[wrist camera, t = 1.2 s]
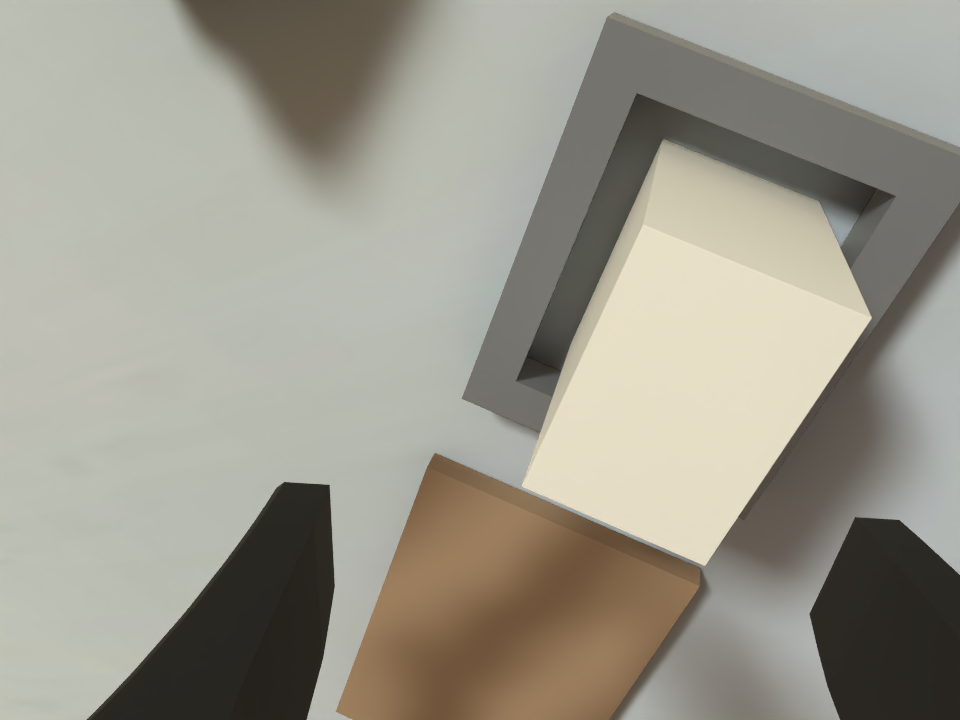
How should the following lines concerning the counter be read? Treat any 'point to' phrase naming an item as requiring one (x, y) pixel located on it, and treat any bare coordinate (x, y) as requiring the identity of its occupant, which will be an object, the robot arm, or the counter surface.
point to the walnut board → (510, 610)
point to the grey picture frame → (745, 110)
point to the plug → (696, 354)
